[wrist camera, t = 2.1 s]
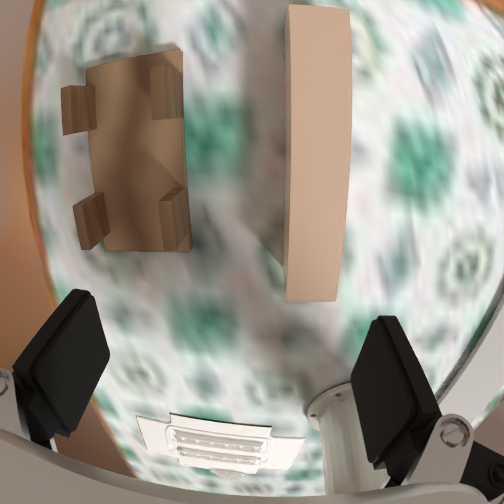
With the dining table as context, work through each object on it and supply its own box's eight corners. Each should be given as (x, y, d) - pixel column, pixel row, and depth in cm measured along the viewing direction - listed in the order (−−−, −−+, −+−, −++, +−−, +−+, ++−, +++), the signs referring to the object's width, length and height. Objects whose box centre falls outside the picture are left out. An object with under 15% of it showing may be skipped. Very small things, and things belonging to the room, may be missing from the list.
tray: (133, 401, 42) (127, 419, 38) (309, 418, 43) (312, 437, 39) (151, 454, 50) (148, 468, 47) (285, 467, 52) (286, 481, 48)
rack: (182, 51, 21) (164, 39, 16) (192, 247, 29) (179, 273, 24) (91, 69, 21) (61, 65, 17) (109, 246, 29) (86, 270, 25)
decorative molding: (421, 404, 44) (462, 409, 41) (422, 424, 39) (465, 428, 37) (514, 230, 29) (556, 248, 27) (530, 243, 25) (571, 262, 22)
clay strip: (331, 30, 20) (349, 9, 14) (323, 266, 29) (335, 301, 24) (284, 27, 20) (289, 4, 15) (282, 266, 29) (286, 301, 24)
